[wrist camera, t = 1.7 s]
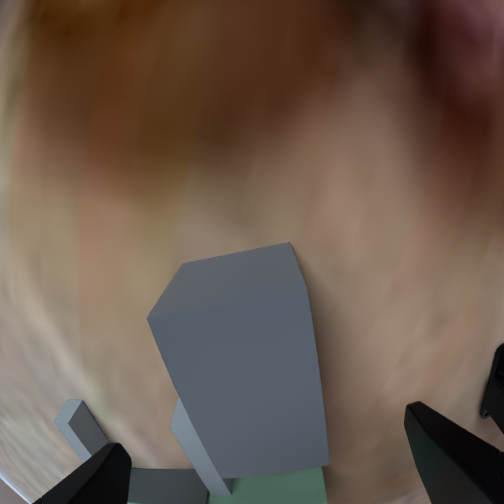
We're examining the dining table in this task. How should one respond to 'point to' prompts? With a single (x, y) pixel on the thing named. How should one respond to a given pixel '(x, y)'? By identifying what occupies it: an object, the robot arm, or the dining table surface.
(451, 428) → the robot arm
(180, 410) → the green and blue-gray block
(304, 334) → the slate gray cuboid
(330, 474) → the dining table surface
